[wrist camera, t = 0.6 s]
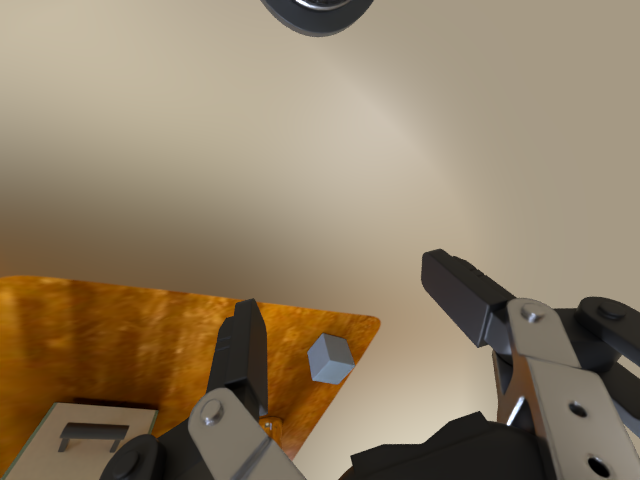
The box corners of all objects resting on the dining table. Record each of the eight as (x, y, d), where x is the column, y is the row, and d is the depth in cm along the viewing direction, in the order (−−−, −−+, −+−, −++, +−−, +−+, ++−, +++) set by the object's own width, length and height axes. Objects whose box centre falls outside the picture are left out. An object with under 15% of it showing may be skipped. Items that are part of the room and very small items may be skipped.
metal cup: (277, 433, 48) (283, 551, 36) (243, 435, 46) (235, 562, 33) (290, 414, 46) (300, 534, 33) (254, 414, 43) (250, 544, 30)
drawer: (64, 379, 29) (6, 460, 22) (166, 390, 34) (143, 460, 27) (39, 461, 36) (-12, 542, 29) (127, 460, 40) (100, 530, 34)
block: (322, 332, 36) (329, 360, 32) (346, 339, 38) (355, 365, 34) (307, 351, 38) (312, 380, 34) (330, 357, 39) (337, 384, 36)
